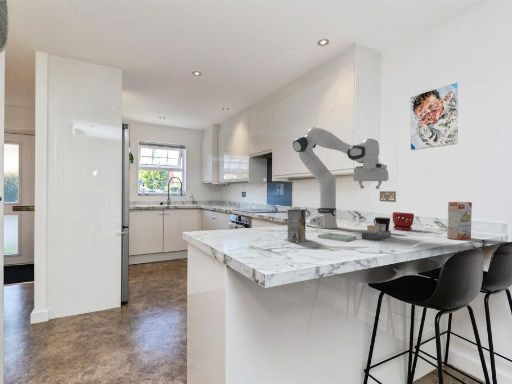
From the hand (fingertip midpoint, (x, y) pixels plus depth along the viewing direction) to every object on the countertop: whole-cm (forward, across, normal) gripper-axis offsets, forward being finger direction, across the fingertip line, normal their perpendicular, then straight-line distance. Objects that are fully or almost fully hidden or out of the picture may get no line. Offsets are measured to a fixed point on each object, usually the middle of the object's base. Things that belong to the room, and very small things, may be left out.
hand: (369, 188), depth 166 cm
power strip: (+28, +10, -13) cm, 32 cm away
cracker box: (+27, +41, +26) cm, 56 cm away
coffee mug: (+28, +4, +11) cm, 30 cm away
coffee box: (+29, -16, -51) cm, 60 cm away
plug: (+27, +10, -18) cm, 34 cm away
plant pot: (+28, +7, +42) cm, 51 cm away
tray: (+28, -4, -31) cm, 42 cm away
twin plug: (+27, +10, -8) cm, 30 cm away
